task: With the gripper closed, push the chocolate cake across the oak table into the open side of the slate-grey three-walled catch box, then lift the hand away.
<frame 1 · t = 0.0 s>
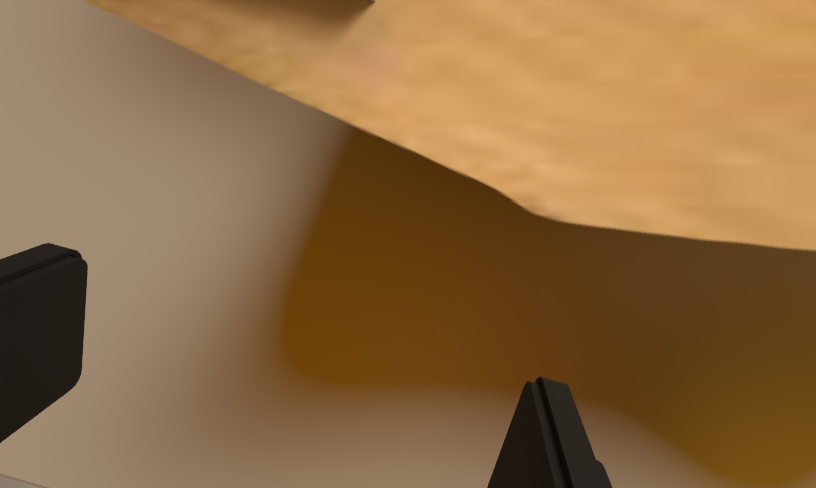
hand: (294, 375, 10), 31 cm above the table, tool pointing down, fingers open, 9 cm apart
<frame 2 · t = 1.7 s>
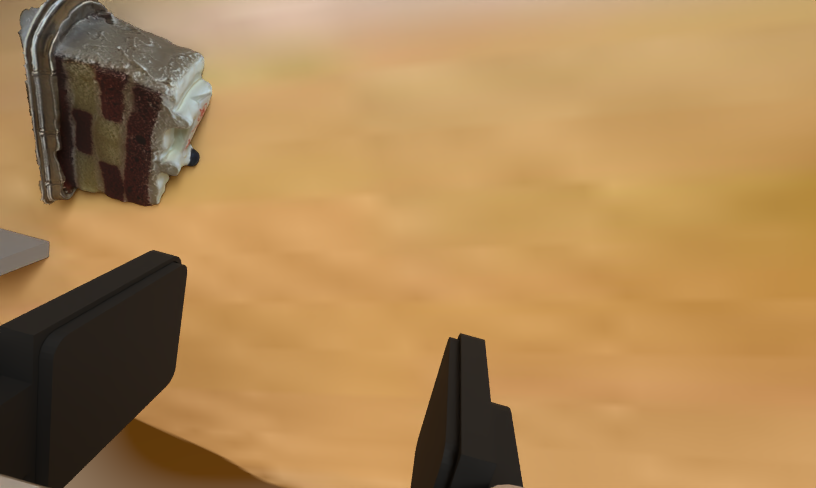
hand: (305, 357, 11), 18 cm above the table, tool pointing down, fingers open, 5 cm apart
chocolate cake: (150, 124, 29), on the table
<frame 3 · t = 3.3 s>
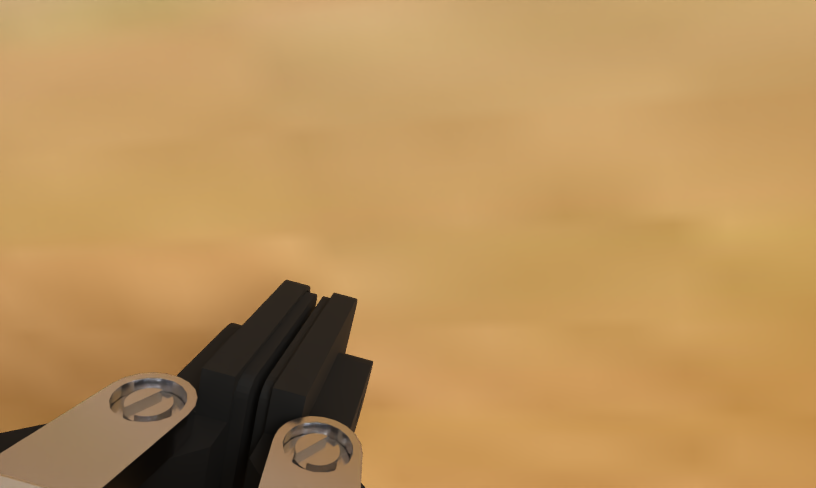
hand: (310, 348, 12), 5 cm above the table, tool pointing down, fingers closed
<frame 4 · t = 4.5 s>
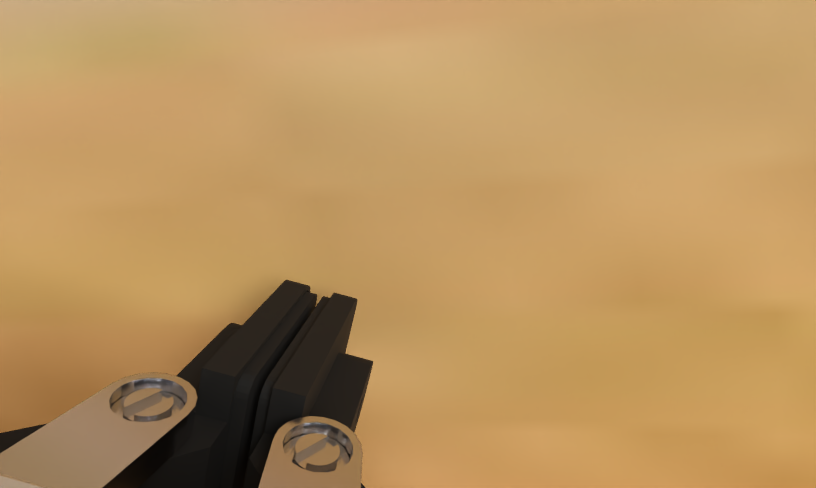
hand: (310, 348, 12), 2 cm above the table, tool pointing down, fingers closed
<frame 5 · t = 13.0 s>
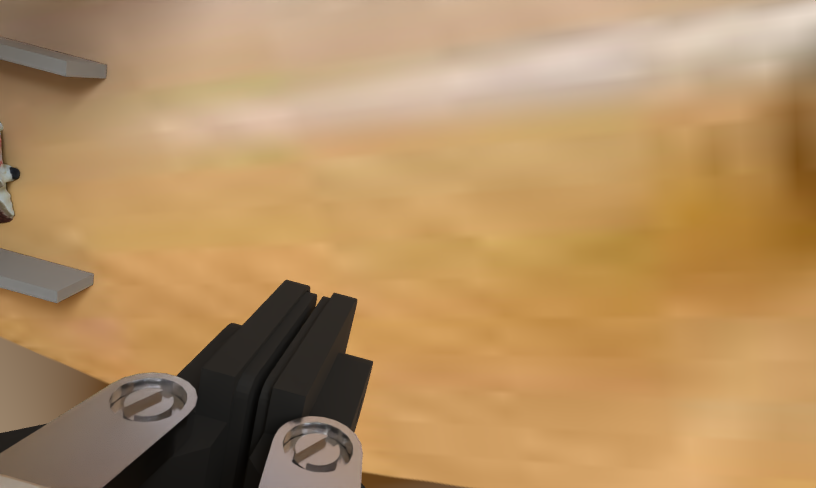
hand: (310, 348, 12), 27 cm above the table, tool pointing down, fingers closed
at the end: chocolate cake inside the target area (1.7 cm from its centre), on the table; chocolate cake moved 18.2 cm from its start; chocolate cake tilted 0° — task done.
